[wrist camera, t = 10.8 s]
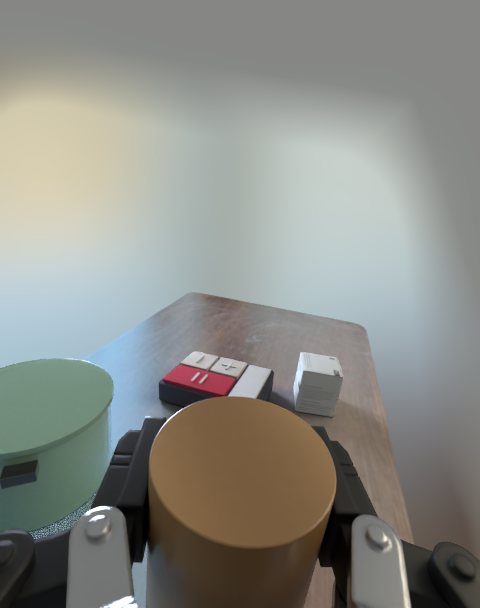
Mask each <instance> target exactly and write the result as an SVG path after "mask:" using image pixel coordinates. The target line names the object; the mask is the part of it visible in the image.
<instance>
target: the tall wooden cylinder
mask: <svg viewBox="0 0 480 608" xmlns="http://www.w3.org/2000/svg"><path fill="white" fill-rule="evenodd" d="M336 483H337V479H336V470H335V466H334V463H333V459H332V457H331V454H330V452H329V450H328V448H327V447H326V445H325V443H324V442H323V440H322V439H321V438H320V436H319V435H318V434H317V433H316V432H315V431H314V429H313V428H312V427H311V426H309V425H308V424H307V423H306V422H305V421H304V420H302V419H301V418H299V417H298V416H297V415H295V414H293V413H292V412H290V411H288V410H286V409H284V408H282V407H280V406H278V405H275V404H273V403H270V402H267V401H263V400H259V399H255V398H249V397H239V396H224V397H215V398H210V399H205V400H202V401H199V402H196V403H194V404H191V405H189V406H187V407H185V408H183V409H181V410H180V411H179V412H177V413H176V414H174V415H173V416H172V417H171V418H170V419H169V420H167V422H166V423H165V424H164V425H163V426H162V427H161V429H160V431H159V432H158V434H157V435H156V437H155V440H154V442H153V444H152V447H151V451H150V457H149V482H148V530H147V577H146V608H303V607H304V603H305V600H306V596H307V593H308V589H309V586H310V582H311V579H312V575H313V572H314V568H315V565H316V561H317V558H318V554H319V551H320V547H321V544H322V540H323V537H324V533H325V530H326V526H327V523H328V519H329V516H330V512H331V509H332V505H333V502H334V498H335V493H336Z"/></svg>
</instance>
